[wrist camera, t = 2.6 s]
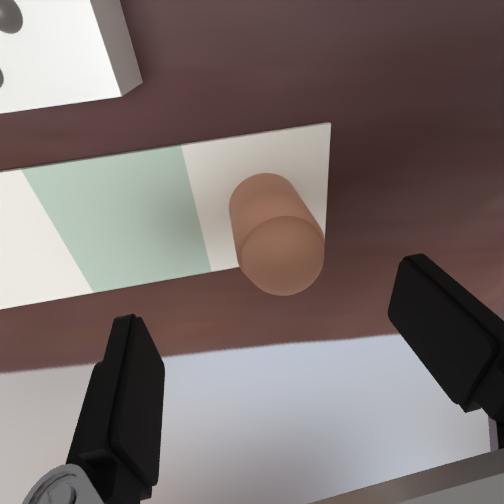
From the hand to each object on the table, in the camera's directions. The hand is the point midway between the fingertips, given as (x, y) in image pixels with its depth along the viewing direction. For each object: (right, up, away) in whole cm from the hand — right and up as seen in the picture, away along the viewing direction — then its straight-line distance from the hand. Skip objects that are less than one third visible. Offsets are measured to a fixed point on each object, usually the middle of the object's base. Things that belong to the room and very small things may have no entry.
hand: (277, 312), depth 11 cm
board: (-11, +3, +6) cm, 13 cm away
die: (-8, +11, +1) cm, 14 cm away
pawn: (0, +5, +6) cm, 8 cm away
